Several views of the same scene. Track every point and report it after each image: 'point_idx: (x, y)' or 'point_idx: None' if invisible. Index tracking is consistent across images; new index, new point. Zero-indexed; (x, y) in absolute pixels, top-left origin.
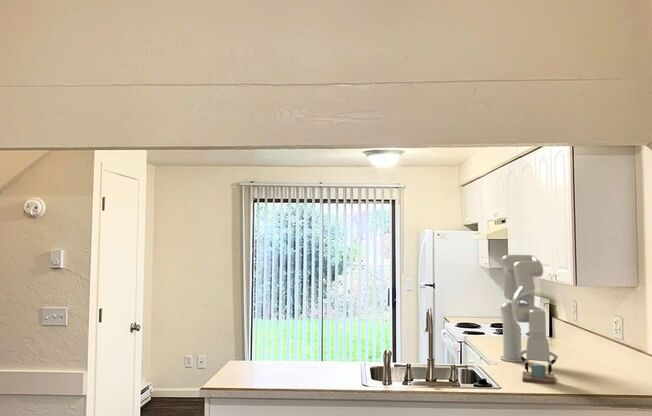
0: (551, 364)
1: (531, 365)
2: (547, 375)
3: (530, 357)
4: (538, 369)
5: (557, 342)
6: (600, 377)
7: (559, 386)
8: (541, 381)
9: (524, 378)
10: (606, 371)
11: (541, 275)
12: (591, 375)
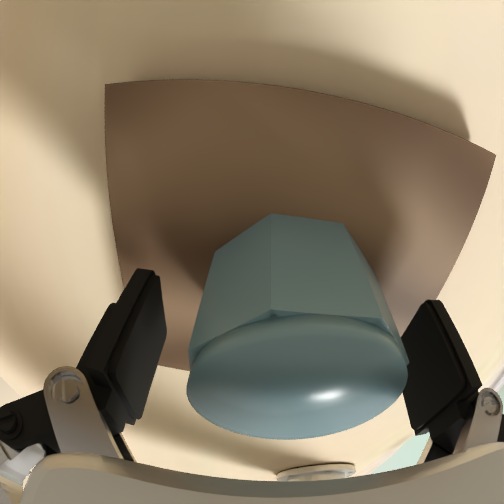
0: (58, 380)
1: (399, 387)
2: (190, 326)
3: (502, 486)
4: (322, 294)
5: None
6: (4, 348)
7: (94, 53)
8: (288, 87)
9: (481, 147)
10: None
11: None
12: (33, 371)
